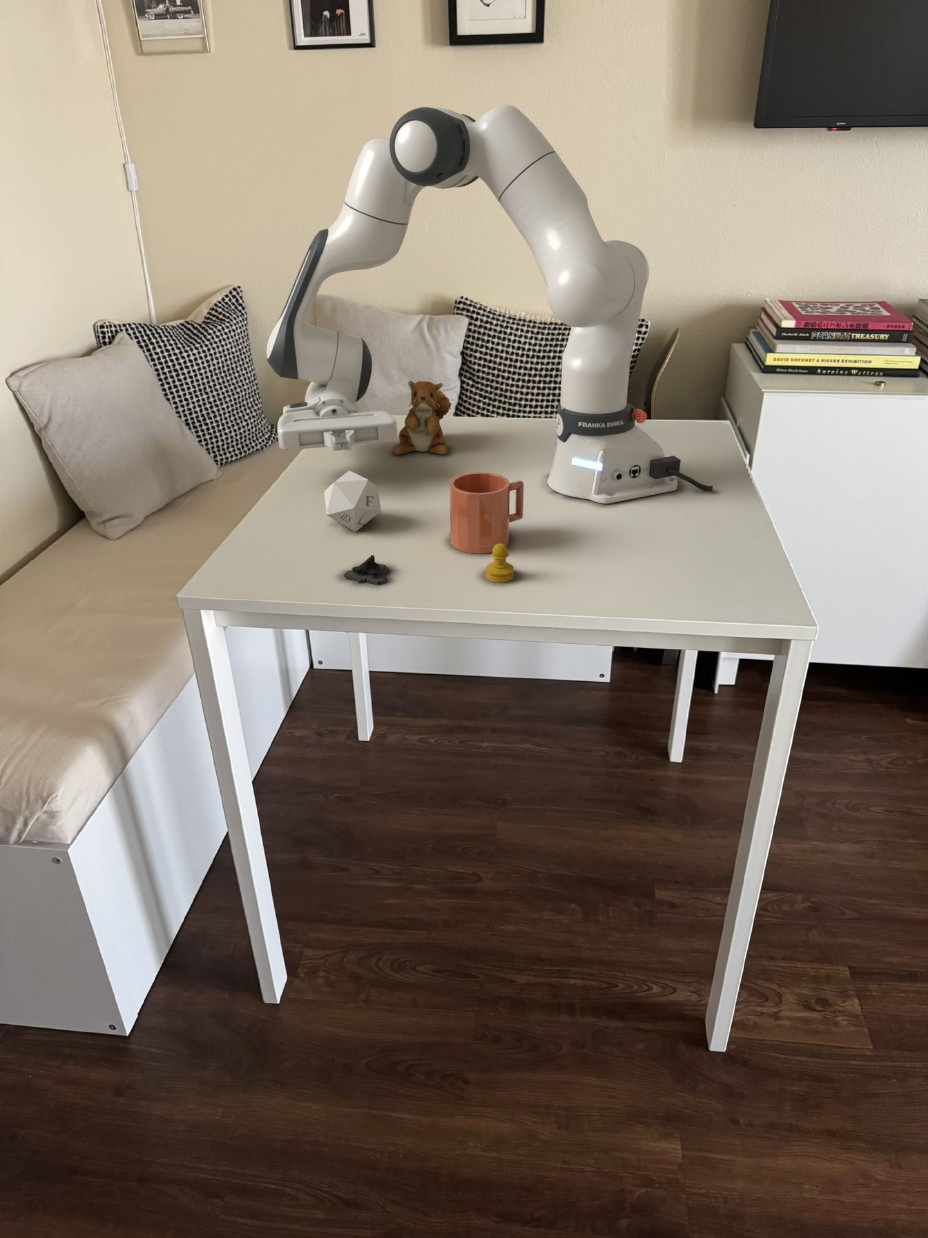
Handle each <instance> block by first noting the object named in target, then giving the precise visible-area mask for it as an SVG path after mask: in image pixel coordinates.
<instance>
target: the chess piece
mask: <svg viewBox="0 0 928 1238" xmlns="http://www.w3.org/2000/svg"><path fill="white" fill-rule="evenodd" d="M508 552H509V551H508V547H507V545H506V546H505V545H504V544H496V545H495V546H494V547H493V550H492V552H491V557H492V558H493V561H492V562H490V563H488V564H487V565H486V567H485V570H486V571H485V578H486V579H487V580H488V581H490V582H493V583H507V582H511V581H512V580H513V579H514V569H515V568H514V565H513V564H511V563H509V562H508V561H507V558H508V557H510V555H509V553H508Z"/></svg>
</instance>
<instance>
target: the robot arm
mask: <svg viewBox="0 0 928 1238" xmlns="http://www.w3.org/2000/svg"><path fill="white" fill-rule="evenodd" d="M478 179H480V180H481V181H483V182H484V184H485V185H486V186H487V187H488V188H489V190H490V191H491V192H492V195H493V196H494V197H495V199H496V200H497V202H498V203H499V204H500V205H501V207H502V209H503V210H504V212H505V213H506V214H507V216H508V217H509V219H510V221H512V223H513V224H514V225H515V227H516V229H517V230H518V232H519V233H520V235H521V236H522V237H523V239H524V240H525V243H526V244H527V246H528V247H529V249H530V251H531V253H532V256H533V258H534V259H535V262H536V264H537V266H538V269H539V271H540V274H541V276H542V279H543V281H544V282H545V285H546V288H547V302H548V305H549V308H550V310H551V312H552V314H553V315H554V317H556V319H557V320H558V321H560V322H561V323H563V325H565V326H568V327H571V328H570V331H569V335H568V339H567V343H566V346H565V348H564V351H563V354H562V357H561V358H562V359H561V377H560V398H559V399H560V401H558V403H557V411H556V415H555V416H556V417H555V433H556V437H557V438H556V439H557V440H556V445H555V450H554V451H555V452H554V456H553V461H552V466H551V469H550V472H549V476H548V478H547V481H546V483H547V485H548V486H549V488H550V489H552V490H553V491H554V492H556V493H558V494H561V495H564V496H568V497H573V498H579V499H584V500H590V501H592V502H596V503H599V504H602V505H603V504H604V505H605V504H607V505H608V504H613V503H617V502H618V503H619V502H622V501H628V500H634V499H639V498H643V497H649V496H654V495H659V494H663V493H668V492H674V491H676V490H677V489H678V482H679V481H678V478H679V479H681V480H683V481H685V482H687V483H689V484H691V485H692V486H693V487H695V488H697V489H699V490H702V491H706V492H713V489H714V486H713V485H706V484H703V483H700V482H699V481H698V480H696V479H694V478H693V477H690V476H688V475H686V474H684V473H682V472H680V471H681V470H680V469H681V462H682V459H680V458H679V457H677V456H675V455H669V456H665V452H664V450H663V449H662V447H661V446H660V445H659V443H658V442H657V441H655V440H654V439H653V438H652V437H651V436H649V435H648V434H647V433H646V432H645V431H643V430H642V429H641V428H640V427H638V426H637V425H636V423H638V424H644V423H645V421H647V418H648V414H647V413H646V412H645V411H643V410H642V409H641V408H636V407H635V406H634V405H632V404H630V403H629V402H628V393H629V380H630V369H631V359H632V354H633V349H634V343H635V339H636V336H637V331H638V327H639V322H640V317H641V312H642V306H643V300H644V295H645V291H646V287H647V285H648V281H649V277H650V266H649V261H648V259H647V257H646V255H645V254H644V252H643V250H641V249H640V248H639V247H638V246H637V245H634V244H633V243H630V242H627V241H623V240H618V239H614V240H613V239H611V240H607V241H604V240H603V238H602V236H601V234H600V232H599V230H598V228H597V226H596V223H595V221H594V218H593V217H592V214H591V212H590V211H591V210H590V208H589V203H588V198H587V195H586V193H585V192H584V190H583V189H582V187H581V186H580V185H579V183H578V181H576V179H575V177H574V176H573V174H572V173H571V171H570V170H569V168H568V167H567V165H566V164H565V163H564V161H563V160H562V159H561V157H560V156H559V155H558V153H557V151H556V149H554V147H553V145H551V143H550V142H549V140H548V139H547V138H546V137H545V136H544V134H543V133H542V132H541V131H540V130H539V128H538V127H537V126H536V124H535V123H533V121H532V120H530V119H529V118H528V117H527V115H525V114H524V113H523V111H521V110H520V109H518V107H516V106H515V105H511V104H501V105H498V106H495V107H493V108H491V109H489V110H487V111H486V112H484V113H483V114H482V115H481V117H479V118H478V119H477V120H476V119H474V118H473V117H472V116H470V115H467V114H464V113H460V112H457V111H454V110H452V109H449V108H448V109H447V108H442V107H429V106H421V107H417V108H414V109H411V110H409V111H407V112H406V113H404V114H403V115H402V116H400V118H398V120H397V121H396V122H395V124H394V126H393V128H392V130H391V133H390V137H376V138H373V139H370V140H368V141H367V142H366V143H365V144H364V145H363V147H362V148H361V150H360V152H359V155H358V157H357V159H356V163H355V165H354V168H353V170H352V173H351V176H350V179H349V181H348V182H349V183H348V186H347V188H346V189H347V190H346V192H345V197H344V201H343V205H342V208H341V211H340V213H339V214H338V217H337V218H336V219H335V221H334V222H333V223H332V224H331V225H330V226H329V227H327V228H325V229H321V230H319V231H318V232H317V233H316V235H315V236H314V238H313V239H312V241H311V242H310V245H309V247H308V249H307V251H306V253H305V256H304V258H303V261H302V262H301V265H300V268H299V270H298V271H297V275H296V277H295V278H294V279H295V280H294V281H293V285H292V287H291V290H290V292H289V294H288V297H287V300H286V302H285V304H284V307H283V309H282V311H281V314H280V316H279V318H278V319H277V321H276V324H275V326H273V329H272V331H271V332H270V335H269V337H268V339H267V345H266V361H267V363H268V365H269V366H270V368H271V369H272V370H273V371H274V372H275V374H277V375H278V377H279V378H282V379H283V378H284V379H290V380H301V381H306V382H310V383H309V385H308V386H307V389H306V391H305V396H304V401H301V402H297V403H293V404H288V405H285V406H283V407H282V415H281V416H280V417H279V419H278V421H277V427H276V428H277V430H276V431H277V440H278V447H279V449H280V450H282V451H295V450H308V449H320V448H330V449H332V450H333V452H334V451H337V452H338V451H347V450H351V449H352V446H356V445H357V446H358V445H367V444H368V445H369V444H379V443H393V442H395V441H396V440H397V439H398V425H397V420H396V419H395V418H394V417H393V415H391V414H390V413H389V412H388V411H383V410H372V411H370V410H369V411H357V408H356V406H355V404H354V403H357V402H358V401H360V400H361V399H362V398H363V397H364V396H365V394H367V391H368V388H369V385H370V383H371V382H370V381H371V378H372V377H371V376H372V372H373V371H372V370H373V358H372V353H371V349H370V348H369V345H368V344H367V342H366V341H365V339H364V338H362V337H360V336H357V335H354V334H349V333H345V332H342V331H335V330H332V329H328V328H324V327H322V326H321V327H320V326H316V325H312V324H309V323H308V322H307V319H308V317H309V314H310V311H311V309H312V306H313V304H314V302H315V300H316V298H317V295H318V293H319V290H320V287H321V286H322V284H323V283H324V281H326V280H327V279H328V278H329V277H331V276H334V275H336V274H340V273H345V272H351V271H361V270H362V271H363V270H370V269H373V268H377V267H380V266H383V265H384V264H387V263H388V262H390V261H391V260H393V259H394V258H395V257H396V255H398V253H399V251H400V249H401V247H402V245H403V243H404V240H405V237H406V233H407V230H408V226H409V222H410V219H411V215H412V211H413V208H414V204H415V201H416V199H417V198H418V197H417V196H418V195H419V193H420V192H421V191H422V190H423V189H425V188H427V187H430V188H436V189H441V190H442V189H445V190H446V189H452V188H462V187H463V188H464V187H466V186H469V185H470V184H473V183H474V182H476V181H477V180H478Z"/></svg>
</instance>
